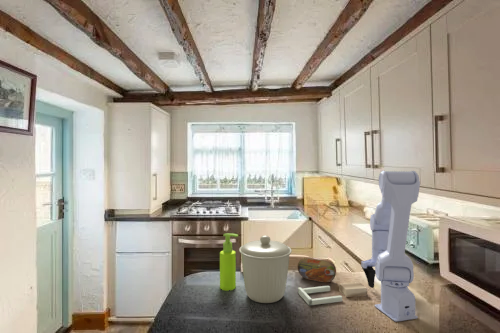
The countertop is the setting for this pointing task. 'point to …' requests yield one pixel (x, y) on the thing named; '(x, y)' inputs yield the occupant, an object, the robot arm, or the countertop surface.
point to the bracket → (316, 301)
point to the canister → (265, 269)
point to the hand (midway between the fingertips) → (380, 285)
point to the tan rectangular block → (353, 289)
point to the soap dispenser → (228, 264)
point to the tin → (317, 269)
